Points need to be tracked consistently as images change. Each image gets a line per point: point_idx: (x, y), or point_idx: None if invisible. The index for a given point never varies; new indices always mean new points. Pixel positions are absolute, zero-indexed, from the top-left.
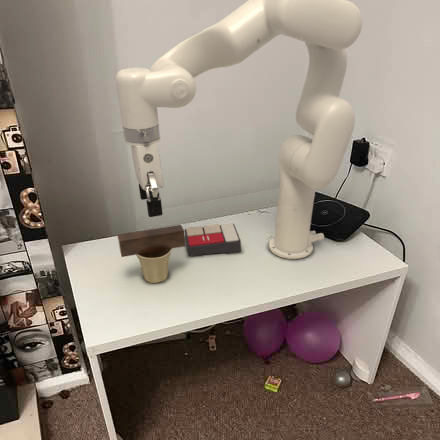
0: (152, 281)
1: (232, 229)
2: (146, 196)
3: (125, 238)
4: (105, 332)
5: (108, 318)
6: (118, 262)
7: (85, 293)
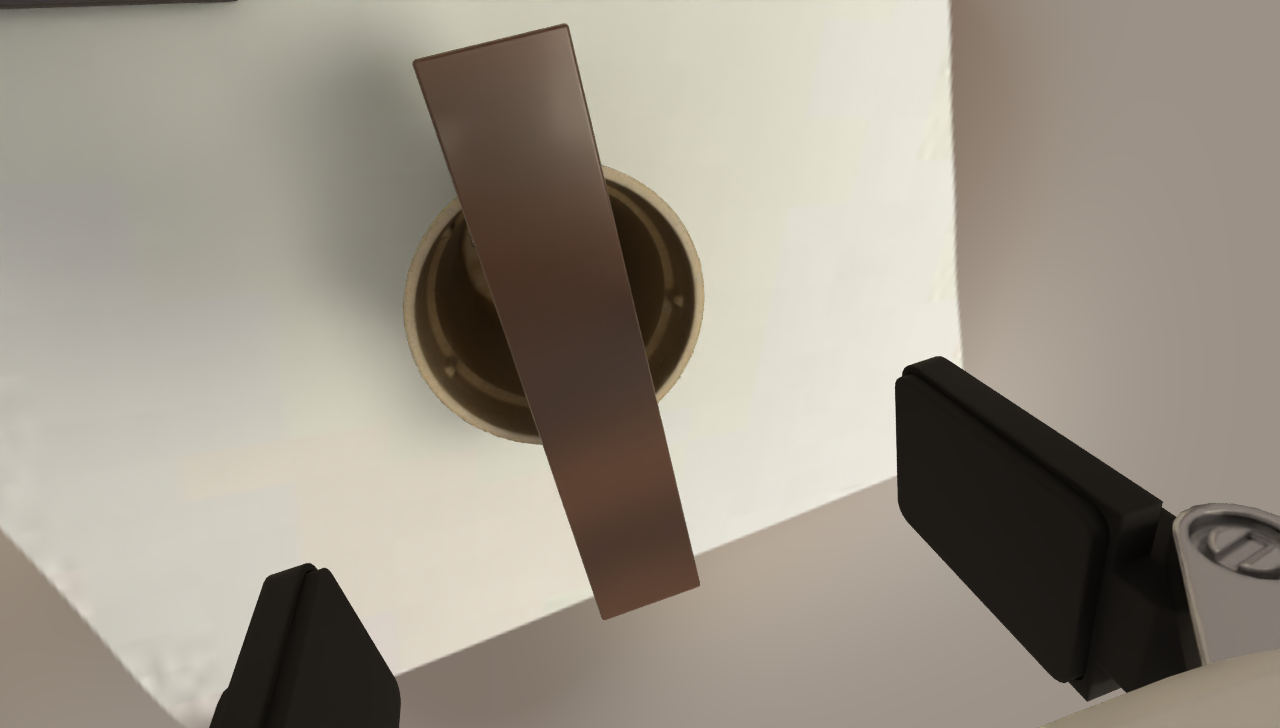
0: None
1: None
2: (367, 673)
3: (672, 555)
4: None
5: (839, 422)
6: (371, 476)
7: None
